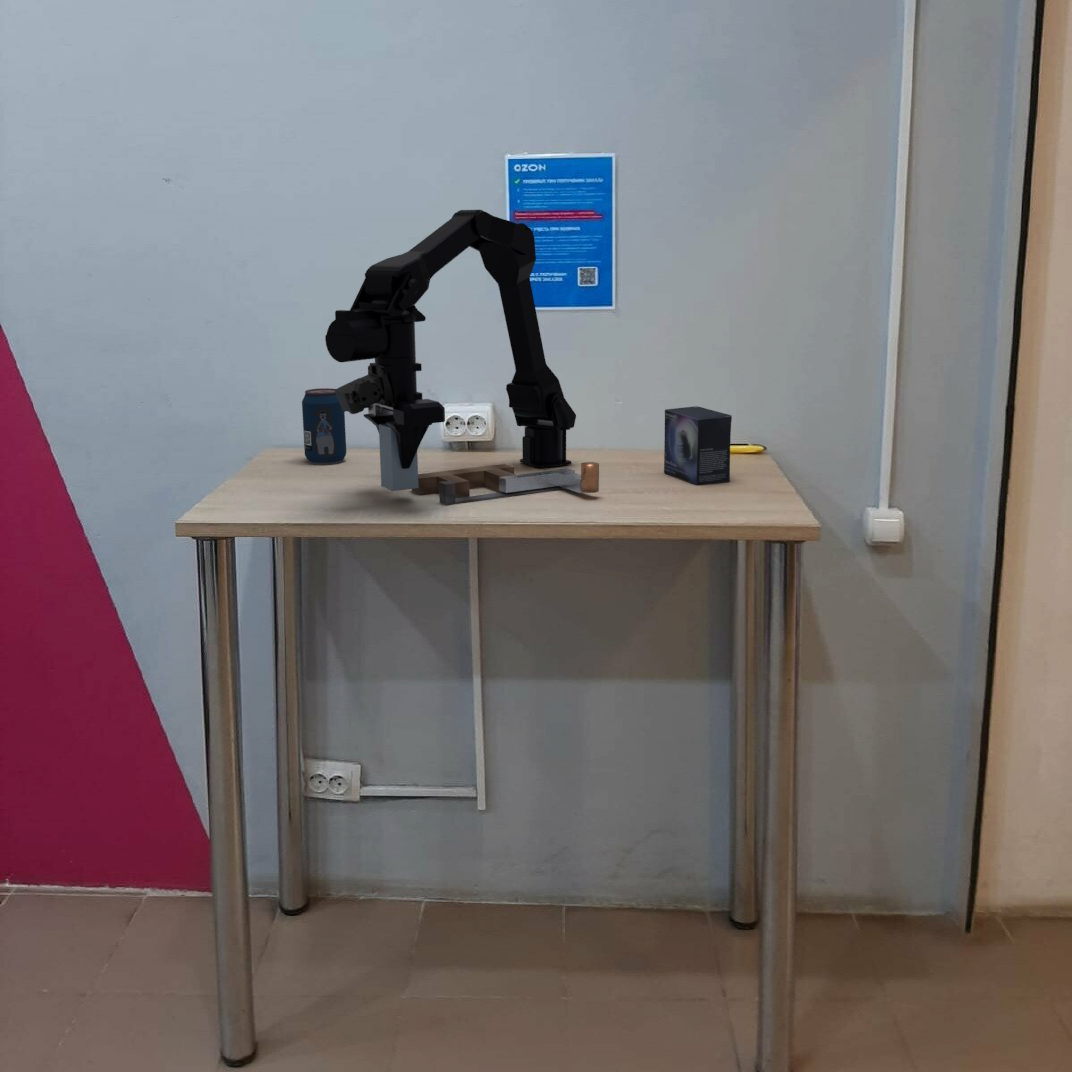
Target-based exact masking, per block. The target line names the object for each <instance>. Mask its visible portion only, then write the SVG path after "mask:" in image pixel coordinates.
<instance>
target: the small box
mask: <svg viewBox="0 0 1072 1072" xmlns="http://www.w3.org/2000/svg"><path fill="white" fill-rule="evenodd" d="M732 419H733V417H732V415H731V414H728V413H723V412H721V411H717V410H716V411H715V410H712V409H709V408H705V407H702V406H697V405H695V406H687V407H678V408H677V407H676V408H668V409H667V408H666V409H664V445H663V446H664V451H663V455H664V459H663V460H664V462H663V464H664V465H663V473H665V474H667V475H670V476H672V477H674V478H676V479H679V480H682V481H683V482H684V481H685V482H687V483H690V484H693V485H695V486H702V485H704V486H705V485H715V484H723V483H730V482H731V477H730V476H731V475H730V474H731V442H732V441H731V435H732V433H731V430H732V421H733V420H732Z"/></svg>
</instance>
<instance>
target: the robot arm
mask: <svg viewBox="0 0 1072 1072" xmlns="http://www.w3.org/2000/svg"><path fill="white" fill-rule="evenodd" d="M468 248H472V249H474V250H475V251H477V252H479V254H480V257H481V261H482V263H483V266H484V268H485V270H486V271H487V273H488V274H489V275H490V276H491V277H492V278H493V280H494V281H495V282H496V284H497V286H498V290H499V295H500V300H501V305H502V310H503V314H504V319H505V324H506V328H507V329H506V330H507V334H508V338H509V344H510V349H511V353H512V359H513V363H514V364H513V365H514V368H515V370H514V371H515V372H514V374H513V377H512V380H511V381H510V382H509V383H507V384H506V388H505V389H506V393H507V396H508V407H509V408H511V409H512V411H513V414H514V415H513V416H514V417H515V421H516V422H515V423H516V425H517V427H524V436H522V445H521V446H522V458H519V463H522V464H525V465H528V466H532V467H535V468H538V469H543V468H550V467H559V466H567V465H571V464H572V461H571V460H568V459H567V431H569V430H571V429H573V428H574V427H575V423H576V419H577V414H576V413H575V411H574V410H573V408H572V407H571V406H570V404H569V403H568V401H567V400H566V398H565V396H564V392H563V389H562V386H561V383H560V380H559V378H558V377H557V376H556V374H555V373H554V372H553V370H552V369H551V368H550V366H548V364H547V362H546V356H545V352H544V347H543V341H542V336H541V331H540V326H539V320H538V315H537V311H536V304H535V300H534V295H533V289H532V283H531V275H532V271H533V269H534V267H535V263H536V262H537V255H536V253H537V252H536V241H535V236H534V232H533V230H532V228H531V227H529V226H528V225H527V224H525V223H523V222H513V221H511V220H507V219H504V218H500V217H497V216H494V215H493V214H490V212H489V213H488V212H487V211H484V210H482V209H460V210H458V211H457V212H455V213H453V215H452V216H451V218H450V219H449V220H448V221H446V222H445V223H443V224H442V225H441V226H439V227H438V228H437V229H436V230H434V231H433V232H431V233H430V234H429V235H428V236H426V237H425V238H424V239H422V240H421V241H420V242H419V243H417V244H416V245H415V246H413V247H412V248H411V249H410V250H408V251H406V252H403V253H400V254H398V255H394V256H389V257H388V258H385V259H383V260H380V261H378V262H376V263H374V264H371V265H370V266H369V267H368V268H367V270H366V271H365V273H364V277H365V278H364V280H363V282H362V284H361V286H360V289H359V291H358V293H357V294H356V297H355V298H354V300H353V302H352V305H351V307H350V309H349V310H345V309H339V310H335V312H334V316H335V317H334V320H333V321H332V322H331V323H330V324H329V326H328V329H327V331H326V334H325V336H324V337H325V339H324V340H325V345H326V348H327V352H328V354H329V355H330V356H331V358H332V359H333V360H335V361H336V362H339V363H349V362H355V361H357V362H358V361H364V360H365V361H366V360H374V362H370V363H369V365H367V374H366V375H364V376H361V377H358V378H356V379H354V380H352V381H349V382H347V383H345V384H344V385H341V386H340V387H338V388H335V389H336V390H335V392H336V395H337V397H338V400H339V402H340V405H341V407H342V410H343V411H344V413H346V412H348V413H349V414H351V415H356V414H359V413H361V412H363V411H364V410H365V409H368V413H364V414H363V418H365V419H366V420H368V421H369V422H370V423H372V424H373V425H374V426H375V428H376V430H377V433H379V424H387V425H388V426H389V427H390V428H391V429H392V430H393V431H394V432H395V433H396V438H397V445H398V451H399V458H400V463H401V467H402V468H403V469H408V468H410V466H411V463H412V461H413V459H414V456H415V454H416V452H417V453H418V450H419V448H420V445H421V443H422V441H423V438H424V437H425V435H426V433H427V431H428V429H429V427H430V426H431V425H433V424H438V423H444V422H445V421H446V411H445V410H446V408H445V406H443V404H441V403H440V402H439V401H437V400H433V399H430V398H423V392H420V391H417V389H418V387H417V385H418V384H417V372H422V370H423V369H422V363H419V362H417V356H416V354H417V353H416V326H415V325H416V324H415V323H419V322H425V321H426V319H427V317H426V316H425V315H424V314H423V313H422V312H421V311H420V310H418V308H417V307H416V304H417V303H418V302H419V301H420V299H421V298H422V297H423V296H424V295H425V293H427V291H428V290H429V287H430V283H431V280H432V278H433V277H434V275H436V274H437V273H438V272H439V271H441V270H442V269H443V268H445V266H447V265H448V264H450V263H451V262H452V261H453V260H454V259H456V257H458V256H459V255H461V254H462V253H463V252H464V251H466V250H467V249H468Z"/></svg>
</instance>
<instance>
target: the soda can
mask: <svg viewBox="0 0 1072 1072" xmlns="http://www.w3.org/2000/svg"><path fill="white" fill-rule="evenodd" d="M336 389H337V388H328V387H327V388H325V387H324V388H312V389H311V388H310V389H307V390H305V391H304V395H303V398H302V399H301V400H302V401H301V408H302V409H301V412H302V426H303V445H304V447H303V448H304V456H305V458H306V460H307V461H308V462H309V463H310V464H311V463H313V464H312V465H318V464H328V465H336V464H335V463H337V464H340V463H342V462H343V461H344V460H345V457H346V455H347V438H346V436H347V435H346V434H347V433H346V419H345V418H346V416H345V413H346V412H344V411H343V410H342V407H341V405H340V402H339V400H338V397H337V395H336V392H335V390H336ZM339 462H340V463H339Z"/></svg>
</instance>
